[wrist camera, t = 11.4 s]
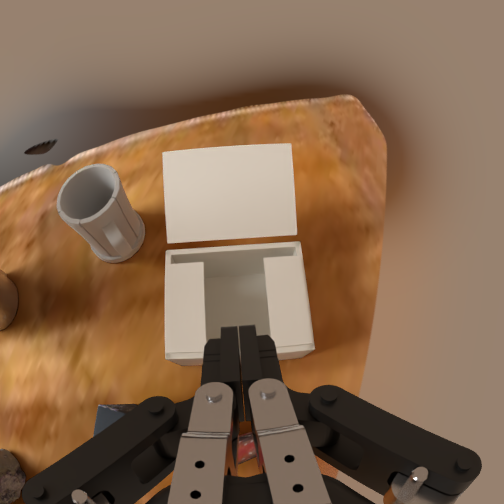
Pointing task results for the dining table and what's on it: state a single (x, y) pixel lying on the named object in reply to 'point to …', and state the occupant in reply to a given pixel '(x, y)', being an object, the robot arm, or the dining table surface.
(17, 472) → the mineral rock
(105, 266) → the dining table surface
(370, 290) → the dining table surface
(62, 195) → the cup
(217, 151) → the flap
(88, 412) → the dining table surface
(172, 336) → the carton
